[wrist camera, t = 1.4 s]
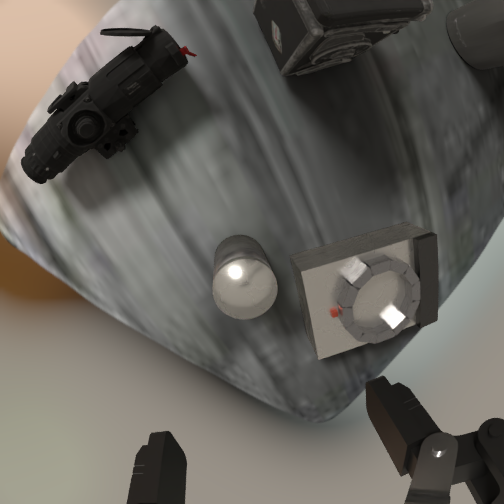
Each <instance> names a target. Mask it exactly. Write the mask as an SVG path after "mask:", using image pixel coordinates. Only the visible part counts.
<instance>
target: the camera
mask: <svg viewBox="0 0 504 504" xmlns="http://www.w3.org/2000/svg"><path fill="white" fill-rule="evenodd" d="M432 10H433V1H432V0H255V3H254V7H253V14H254V15H255V17H256V19H257V21H258V23H259V25H260V27H261V29H262V32H263V34H264V36H265V38H266V40H267V42H268V45H269V47H270V49H271V51H272V54H273V56H274V58H275V60H276V63H277V65H278V67H279V70H280V73H281V75H282V76H290V75H293V74H297V76H299V75H304V74H309V73H312V72H316V71H317V70H321V69H324V68H328V67H331V66H335V65H338V64H342V63H346V62H350V61H351V59H353V58H354V57H356V56H357V55H360V54H362V53H364V52H366V51H368V50H369V49H370V48H371V47H372V46H374V45H375V44H377V43H378V42H380V41H382V40H383V39H385V38H386V37H388V36H389V35H391V34H397V33H398V32H399V29H402V28H404V27H406V26H407V25H408V24H409V23H410V21H423V20H425V18H426V16H427V15H429V14H430V13H431V12H432Z"/></svg>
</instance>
